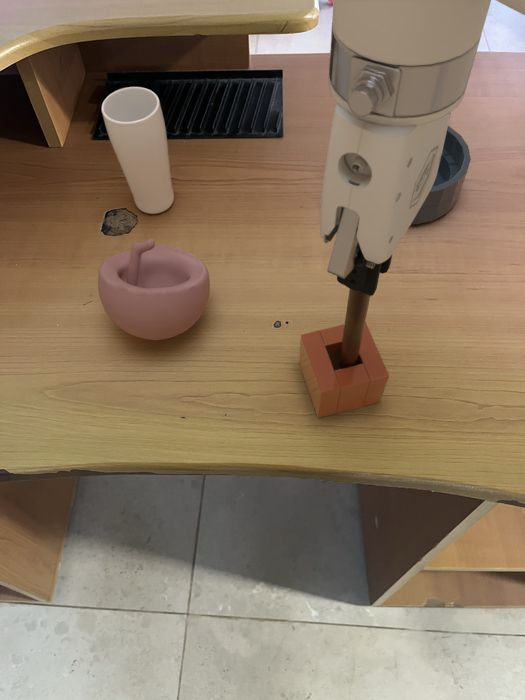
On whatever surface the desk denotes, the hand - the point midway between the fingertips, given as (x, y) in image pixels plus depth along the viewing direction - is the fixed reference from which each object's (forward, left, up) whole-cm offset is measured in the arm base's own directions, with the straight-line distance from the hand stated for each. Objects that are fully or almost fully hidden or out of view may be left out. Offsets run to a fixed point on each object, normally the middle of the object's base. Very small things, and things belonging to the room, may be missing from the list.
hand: (363, 274), depth 46 cm
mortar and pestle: (+17, -14, -19) cm, 29 cm away
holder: (0, 0, -19) cm, 19 cm away
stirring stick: (0, 0, -15) cm, 15 cm away
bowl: (-18, -26, -19) cm, 37 cm away
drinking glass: (+15, -33, -19) cm, 41 cm away
